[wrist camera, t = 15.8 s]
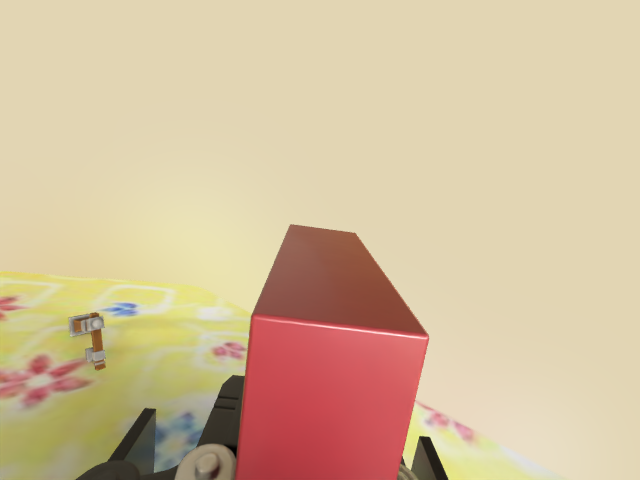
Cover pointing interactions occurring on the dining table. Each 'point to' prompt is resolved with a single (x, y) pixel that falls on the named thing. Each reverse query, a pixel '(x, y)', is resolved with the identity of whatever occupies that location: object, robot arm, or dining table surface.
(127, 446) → the book rack
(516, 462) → the dining table surface
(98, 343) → the brown two-tone jointed fixture
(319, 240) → the book
